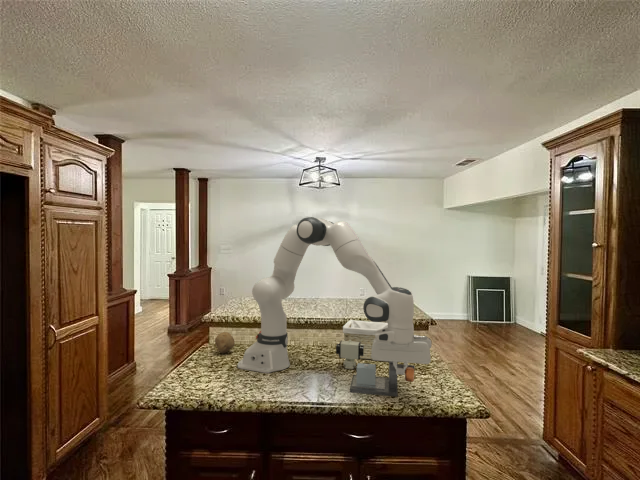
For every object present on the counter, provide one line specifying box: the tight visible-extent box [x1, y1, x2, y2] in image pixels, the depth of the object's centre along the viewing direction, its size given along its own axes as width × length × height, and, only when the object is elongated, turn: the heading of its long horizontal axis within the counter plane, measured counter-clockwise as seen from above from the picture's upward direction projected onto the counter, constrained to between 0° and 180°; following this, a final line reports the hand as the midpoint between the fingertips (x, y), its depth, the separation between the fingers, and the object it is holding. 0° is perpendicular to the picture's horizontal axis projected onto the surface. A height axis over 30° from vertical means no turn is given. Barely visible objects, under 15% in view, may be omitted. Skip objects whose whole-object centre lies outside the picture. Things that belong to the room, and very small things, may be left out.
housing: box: [356, 362, 377, 385], centre depth 136 cm, size 7×5×6 cm
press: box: [349, 361, 416, 398], centre depth 135 cm, size 23×14×18 cm, turn 79°
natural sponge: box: [214, 331, 236, 354], centre depth 172 cm, size 9×9×10 cm
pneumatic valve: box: [335, 340, 364, 370], centre depth 155 cm, size 6×12×12 cm, turn 78°
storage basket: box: [342, 319, 388, 361], centre depth 172 cm, size 24×16×15 cm
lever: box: [404, 367, 415, 383], centre depth 126 cm, size 3×6×4 cm, turn 169°
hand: (400, 374), depth 125 cm, fingers closed
